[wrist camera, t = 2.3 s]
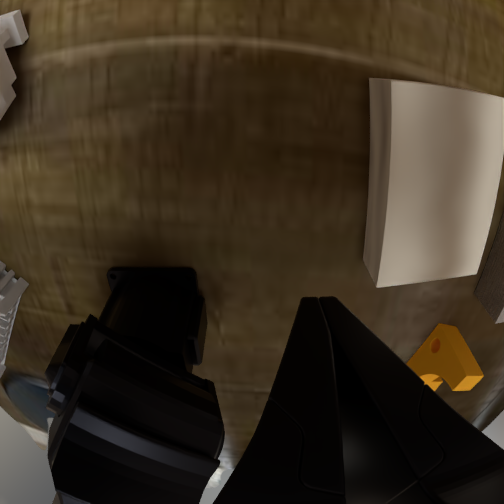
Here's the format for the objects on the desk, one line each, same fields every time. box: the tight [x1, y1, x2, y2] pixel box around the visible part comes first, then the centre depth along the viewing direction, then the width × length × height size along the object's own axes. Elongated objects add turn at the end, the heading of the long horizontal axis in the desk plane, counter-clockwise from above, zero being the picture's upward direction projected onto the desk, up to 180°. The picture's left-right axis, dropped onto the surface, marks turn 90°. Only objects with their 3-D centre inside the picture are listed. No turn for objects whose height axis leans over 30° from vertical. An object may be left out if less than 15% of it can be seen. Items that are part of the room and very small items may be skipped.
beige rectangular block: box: [363, 78, 504, 288], centre depth 17 cm, size 8×12×4 cm, turn 5°
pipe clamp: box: [406, 323, 484, 391], centre depth 26 cm, size 12×4×6 cm, turn 163°
